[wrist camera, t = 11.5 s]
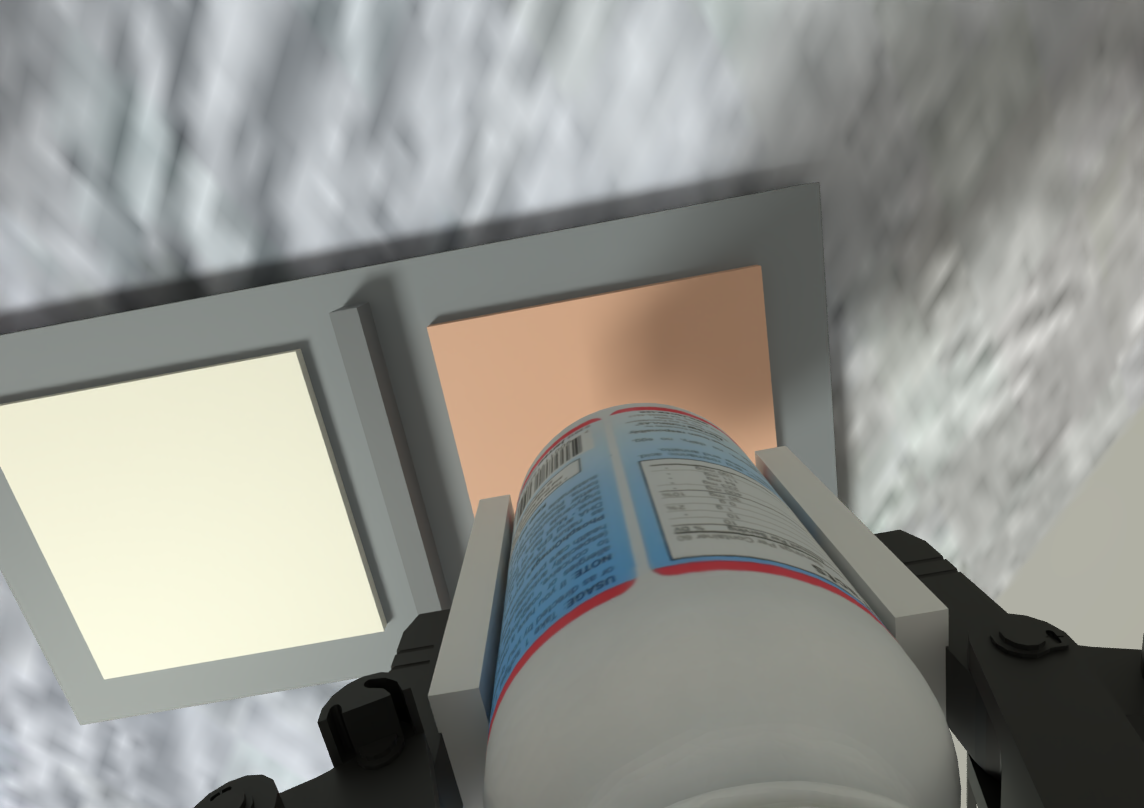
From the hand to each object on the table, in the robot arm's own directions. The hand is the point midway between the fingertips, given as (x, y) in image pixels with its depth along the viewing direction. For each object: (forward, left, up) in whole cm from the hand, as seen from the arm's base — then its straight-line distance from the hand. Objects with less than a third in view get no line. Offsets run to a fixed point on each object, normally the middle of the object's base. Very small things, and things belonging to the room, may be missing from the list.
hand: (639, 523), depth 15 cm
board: (0, -7, -6) cm, 9 cm away
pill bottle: (0, 0, 0) cm, 1 cm away
